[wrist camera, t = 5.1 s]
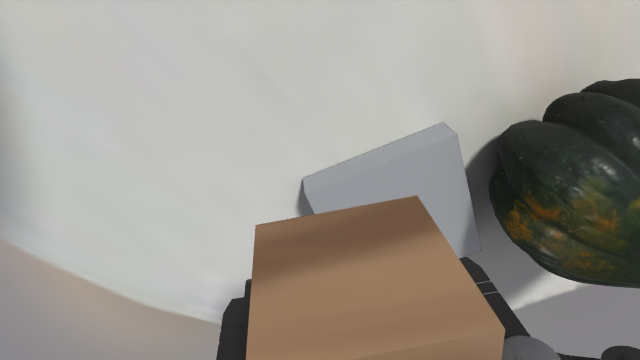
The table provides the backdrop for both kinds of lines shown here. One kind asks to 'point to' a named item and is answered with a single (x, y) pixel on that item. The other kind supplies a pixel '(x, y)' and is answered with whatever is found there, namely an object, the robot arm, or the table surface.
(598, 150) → the squash
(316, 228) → the walnut cube
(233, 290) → the table surface
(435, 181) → the stone coaster
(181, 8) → the table surface
